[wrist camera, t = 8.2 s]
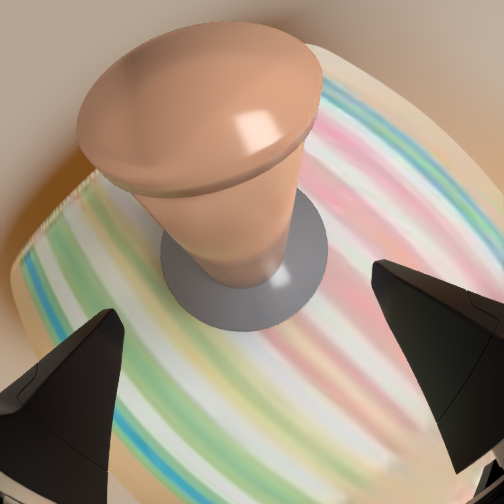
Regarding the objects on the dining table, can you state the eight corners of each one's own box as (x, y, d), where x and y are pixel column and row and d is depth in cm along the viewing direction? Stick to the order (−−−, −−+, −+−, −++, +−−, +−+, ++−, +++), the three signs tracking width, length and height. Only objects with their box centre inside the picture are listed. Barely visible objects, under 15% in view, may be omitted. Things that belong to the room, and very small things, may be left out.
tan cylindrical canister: (265, 308, 16) (252, 227, 4) (181, 268, 17) (40, 147, 5) (302, 224, 18) (346, 43, 5) (222, 192, 19) (168, 20, 6)
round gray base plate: (248, 363, 18) (245, 368, 15) (145, 259, 20) (131, 250, 18) (349, 249, 20) (359, 238, 17) (243, 164, 22) (240, 147, 20)
